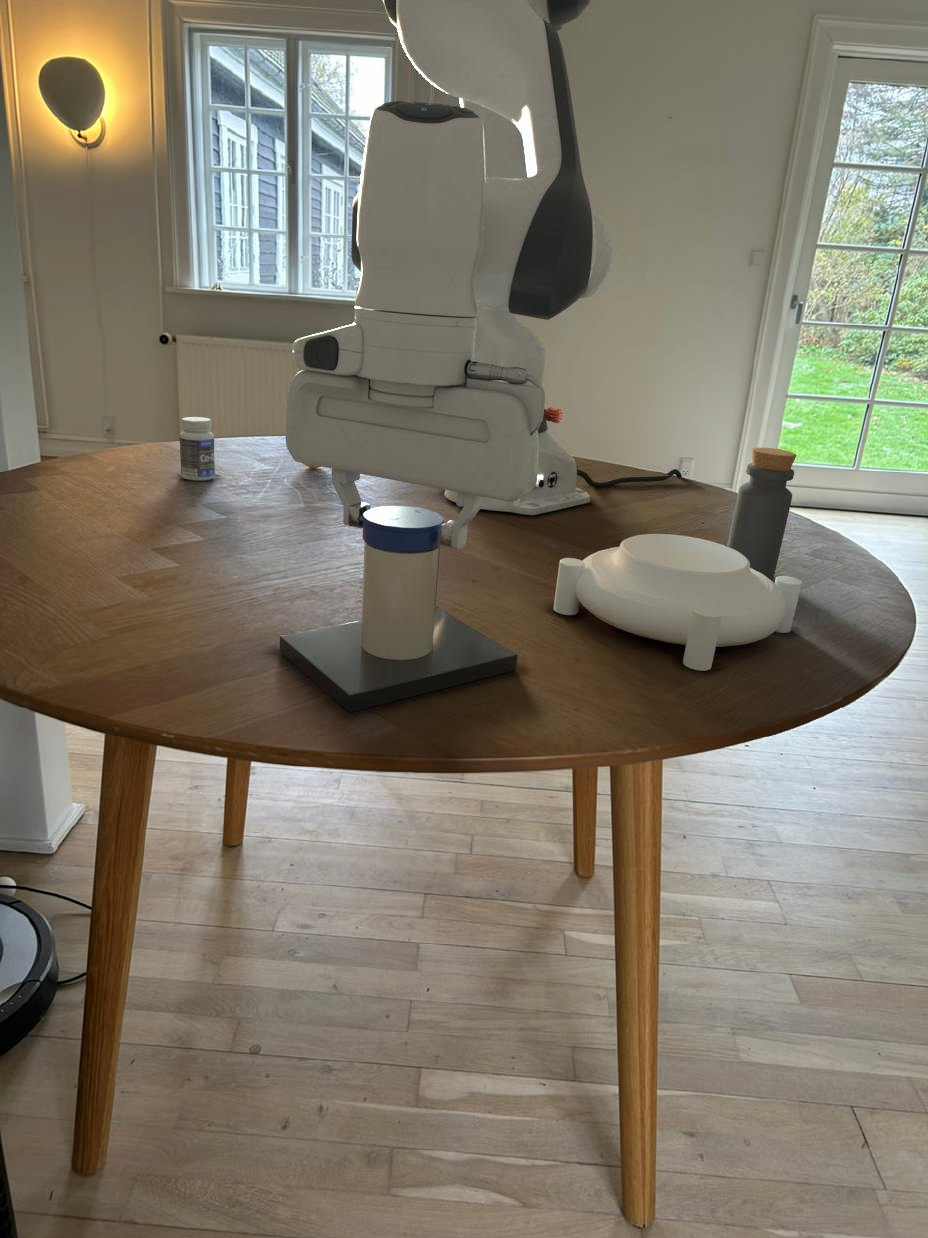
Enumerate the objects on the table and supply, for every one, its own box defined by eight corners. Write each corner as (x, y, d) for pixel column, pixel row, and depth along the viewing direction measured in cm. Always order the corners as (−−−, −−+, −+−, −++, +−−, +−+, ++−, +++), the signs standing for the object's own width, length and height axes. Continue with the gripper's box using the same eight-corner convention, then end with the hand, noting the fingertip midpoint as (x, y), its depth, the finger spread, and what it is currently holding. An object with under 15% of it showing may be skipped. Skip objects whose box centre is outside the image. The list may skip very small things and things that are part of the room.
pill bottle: (205, 482, 121) (203, 423, 118) (175, 478, 122) (172, 419, 119) (220, 475, 126) (219, 418, 122) (191, 472, 126) (189, 414, 123)
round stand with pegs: (835, 681, 75) (856, 606, 72) (564, 659, 75) (574, 583, 72) (754, 588, 97) (768, 528, 94) (545, 570, 97) (552, 509, 94)
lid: (415, 524, 72) (416, 502, 71) (458, 546, 67) (460, 523, 66) (347, 532, 68) (348, 509, 67) (388, 555, 63) (390, 531, 63)
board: (436, 620, 81) (437, 605, 80) (516, 670, 72) (518, 654, 71) (279, 651, 71) (279, 635, 71) (349, 713, 63) (349, 695, 62)
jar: (408, 626, 75) (415, 509, 71) (446, 652, 71) (456, 528, 67) (347, 638, 72) (351, 515, 68) (384, 665, 67) (390, 537, 63)
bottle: (746, 589, 97) (775, 457, 91) (710, 572, 101) (736, 446, 96) (783, 584, 99) (813, 456, 94) (746, 568, 104) (773, 445, 98)
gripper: (562, 368, 61) (540, 551, 66) (320, 338, 68) (317, 505, 74) (533, 373, 56) (511, 572, 61) (273, 340, 63) (274, 521, 68)
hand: (403, 535), depth 67 cm, fingers open, 7 cm apart
